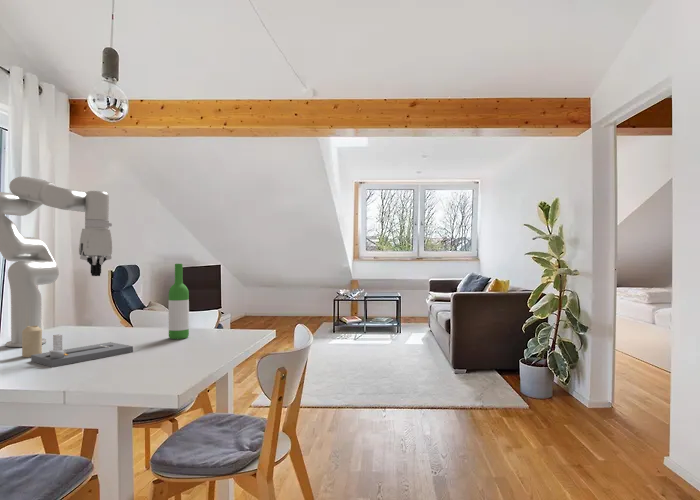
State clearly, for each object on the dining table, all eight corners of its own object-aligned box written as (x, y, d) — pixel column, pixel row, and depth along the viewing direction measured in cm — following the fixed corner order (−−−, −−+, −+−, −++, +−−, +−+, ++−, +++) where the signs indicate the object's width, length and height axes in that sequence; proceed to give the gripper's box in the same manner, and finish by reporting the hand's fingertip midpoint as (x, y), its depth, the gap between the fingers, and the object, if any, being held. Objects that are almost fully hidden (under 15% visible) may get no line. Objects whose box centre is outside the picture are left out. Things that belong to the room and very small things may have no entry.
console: (31, 361, 152) (31, 348, 152) (110, 347, 173) (110, 336, 173) (52, 367, 144) (52, 353, 144) (132, 352, 166) (132, 340, 166)
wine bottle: (177, 340, 187) (177, 264, 188) (164, 338, 191) (164, 263, 192) (193, 337, 194) (192, 263, 194) (180, 335, 198) (180, 263, 198)
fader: (49, 353, 152) (49, 335, 152) (59, 351, 154) (59, 333, 154) (56, 355, 149) (56, 336, 149) (66, 353, 152) (66, 335, 152)
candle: (32, 357, 157) (32, 327, 157) (18, 357, 158) (18, 327, 158) (45, 354, 162) (45, 324, 162) (32, 353, 163) (32, 324, 163)
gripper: (111, 226, 181) (110, 274, 181) (70, 224, 169) (69, 276, 169) (122, 226, 177) (121, 275, 177) (80, 224, 165) (79, 277, 165)
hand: (95, 275), depth 173 cm, fingers closed
